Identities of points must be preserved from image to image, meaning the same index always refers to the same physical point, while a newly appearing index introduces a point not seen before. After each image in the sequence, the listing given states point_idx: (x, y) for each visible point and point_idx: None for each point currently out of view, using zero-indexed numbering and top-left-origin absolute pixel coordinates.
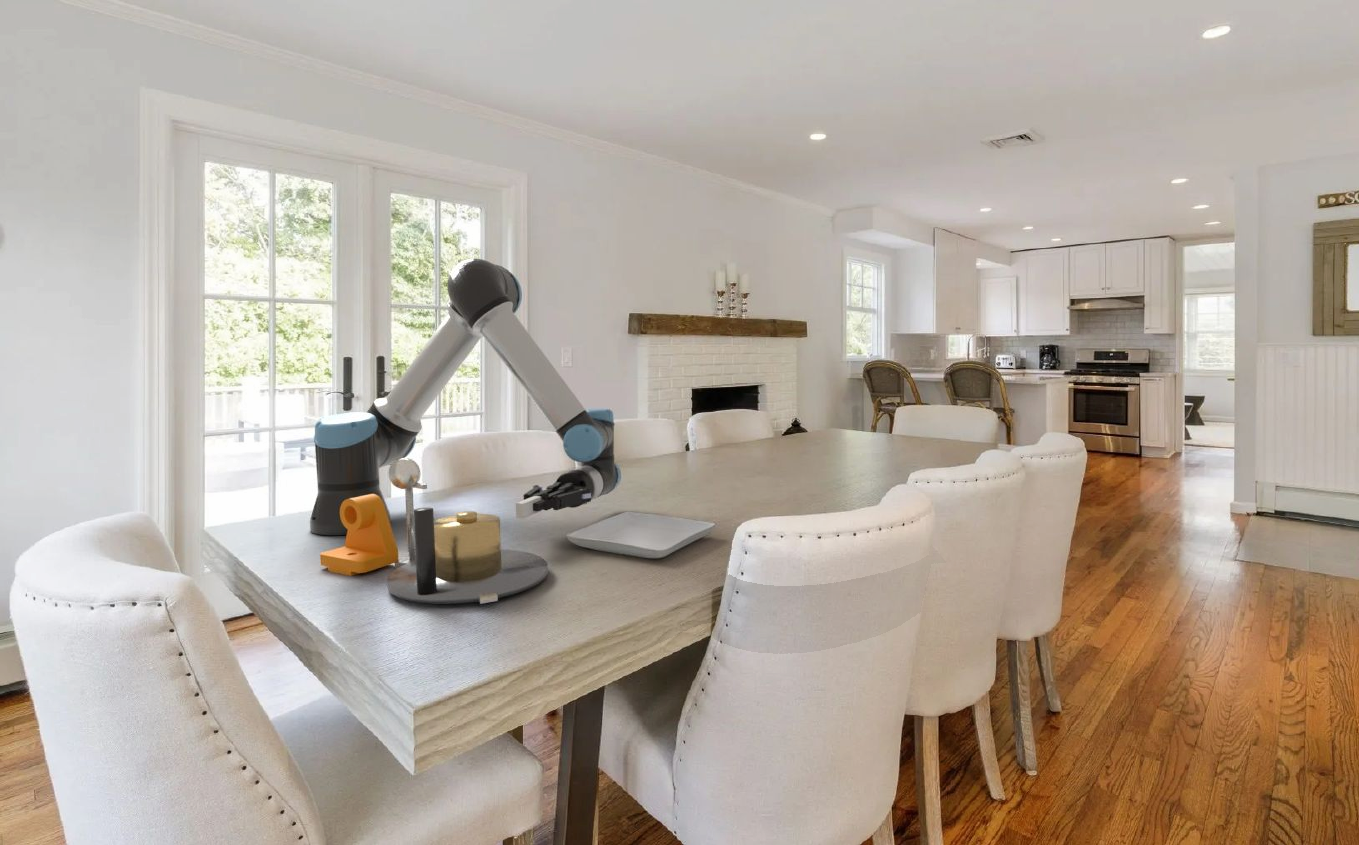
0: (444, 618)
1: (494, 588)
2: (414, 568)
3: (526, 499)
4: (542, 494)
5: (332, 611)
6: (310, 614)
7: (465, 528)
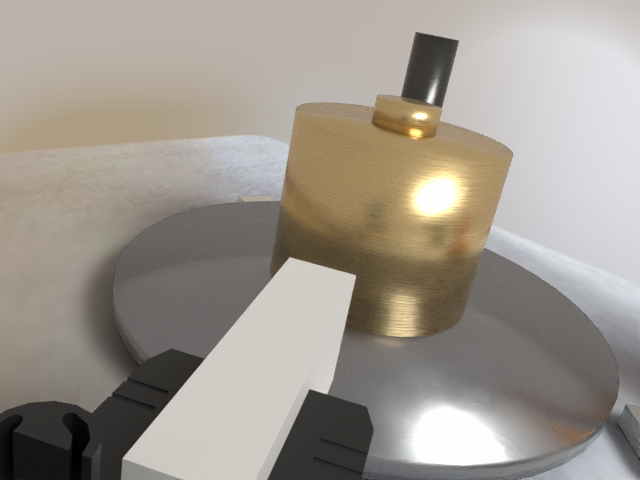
0: None
1: (252, 210)
2: (545, 320)
3: (303, 349)
4: (100, 452)
5: (541, 258)
6: (566, 257)
7: (363, 106)
